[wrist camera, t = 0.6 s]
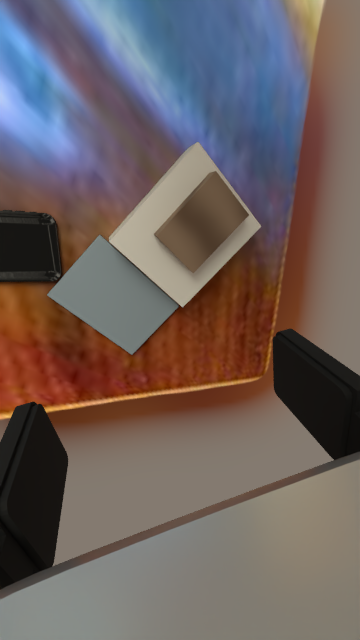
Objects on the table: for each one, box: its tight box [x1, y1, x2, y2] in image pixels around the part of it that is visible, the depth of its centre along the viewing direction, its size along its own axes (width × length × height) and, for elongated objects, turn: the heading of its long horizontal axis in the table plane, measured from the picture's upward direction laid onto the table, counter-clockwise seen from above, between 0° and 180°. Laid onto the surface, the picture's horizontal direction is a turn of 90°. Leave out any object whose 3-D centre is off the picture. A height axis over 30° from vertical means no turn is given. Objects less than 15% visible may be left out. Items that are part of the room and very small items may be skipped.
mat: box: [47, 235, 179, 354], centre depth 37 cm, size 10×14×1 cm
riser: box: [109, 142, 261, 307], centre depth 34 cm, size 14×12×4 cm
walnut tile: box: [154, 171, 249, 273], centre depth 31 cm, size 9×6×2 cm, turn 134°
